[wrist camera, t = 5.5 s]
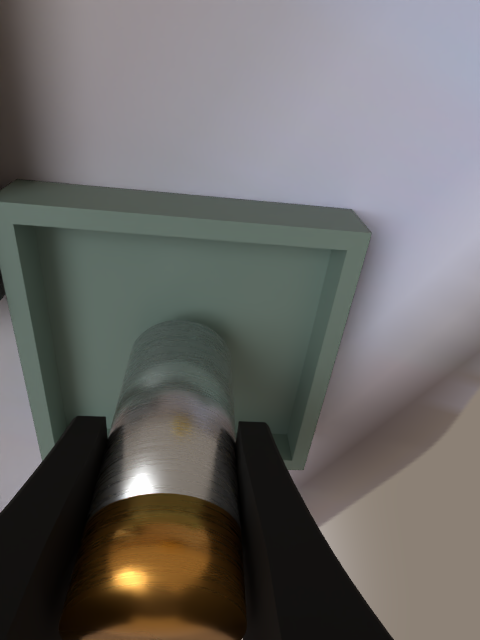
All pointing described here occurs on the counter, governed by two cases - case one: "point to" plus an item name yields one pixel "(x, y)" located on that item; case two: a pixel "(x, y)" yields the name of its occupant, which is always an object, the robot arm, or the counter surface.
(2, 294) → the block
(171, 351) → the small bottle
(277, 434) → the tray
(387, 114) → the counter surface
